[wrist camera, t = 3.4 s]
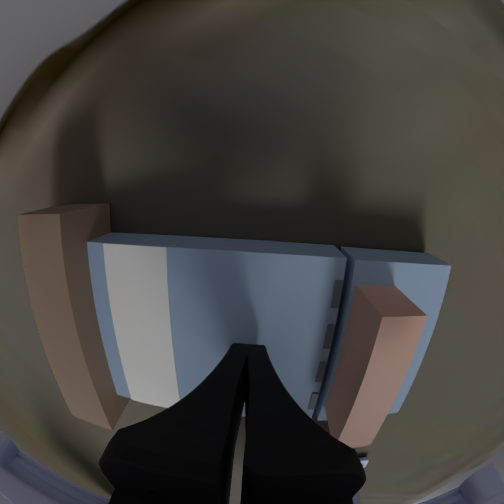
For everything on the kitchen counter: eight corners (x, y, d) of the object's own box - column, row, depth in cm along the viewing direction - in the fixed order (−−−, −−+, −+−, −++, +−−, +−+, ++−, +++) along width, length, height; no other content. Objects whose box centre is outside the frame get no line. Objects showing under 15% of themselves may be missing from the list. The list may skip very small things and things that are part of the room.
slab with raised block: (386, 389, 14) (413, 445, 9) (312, 394, 14) (324, 460, 10) (427, 253, 12) (489, 287, 7) (340, 246, 12) (383, 286, 7)
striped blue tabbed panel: (303, 408, 15) (309, 457, 11) (98, 379, 15) (72, 415, 12) (337, 213, 12) (368, 227, 8) (68, 204, 12) (17, 214, 9)
